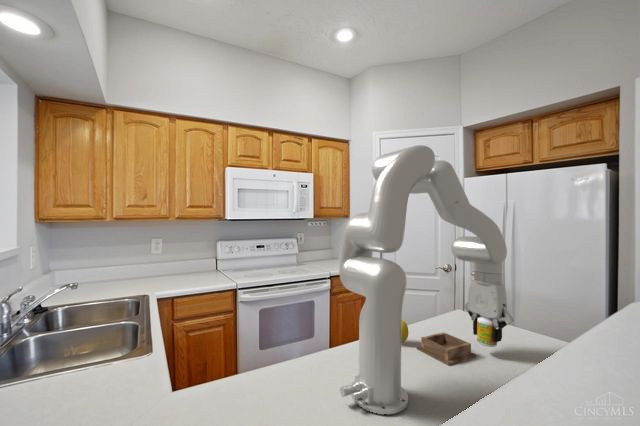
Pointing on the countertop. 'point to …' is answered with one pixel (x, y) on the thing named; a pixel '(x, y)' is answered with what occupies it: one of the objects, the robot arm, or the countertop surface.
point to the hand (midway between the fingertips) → (486, 337)
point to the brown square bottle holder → (446, 348)
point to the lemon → (404, 331)
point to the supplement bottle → (485, 331)
